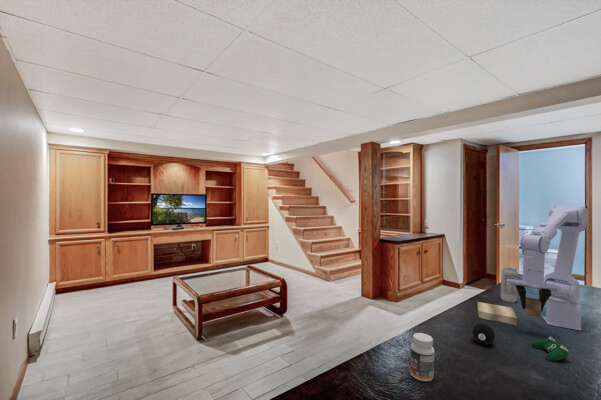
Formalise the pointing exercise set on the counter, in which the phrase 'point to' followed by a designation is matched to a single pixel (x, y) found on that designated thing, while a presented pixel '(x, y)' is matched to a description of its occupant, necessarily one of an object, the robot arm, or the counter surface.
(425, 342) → the pill bottle
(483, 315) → the birch base
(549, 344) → the gaming controller
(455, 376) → the counter surface
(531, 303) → the walnut block
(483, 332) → the billiard ball
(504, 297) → the energy drink can
